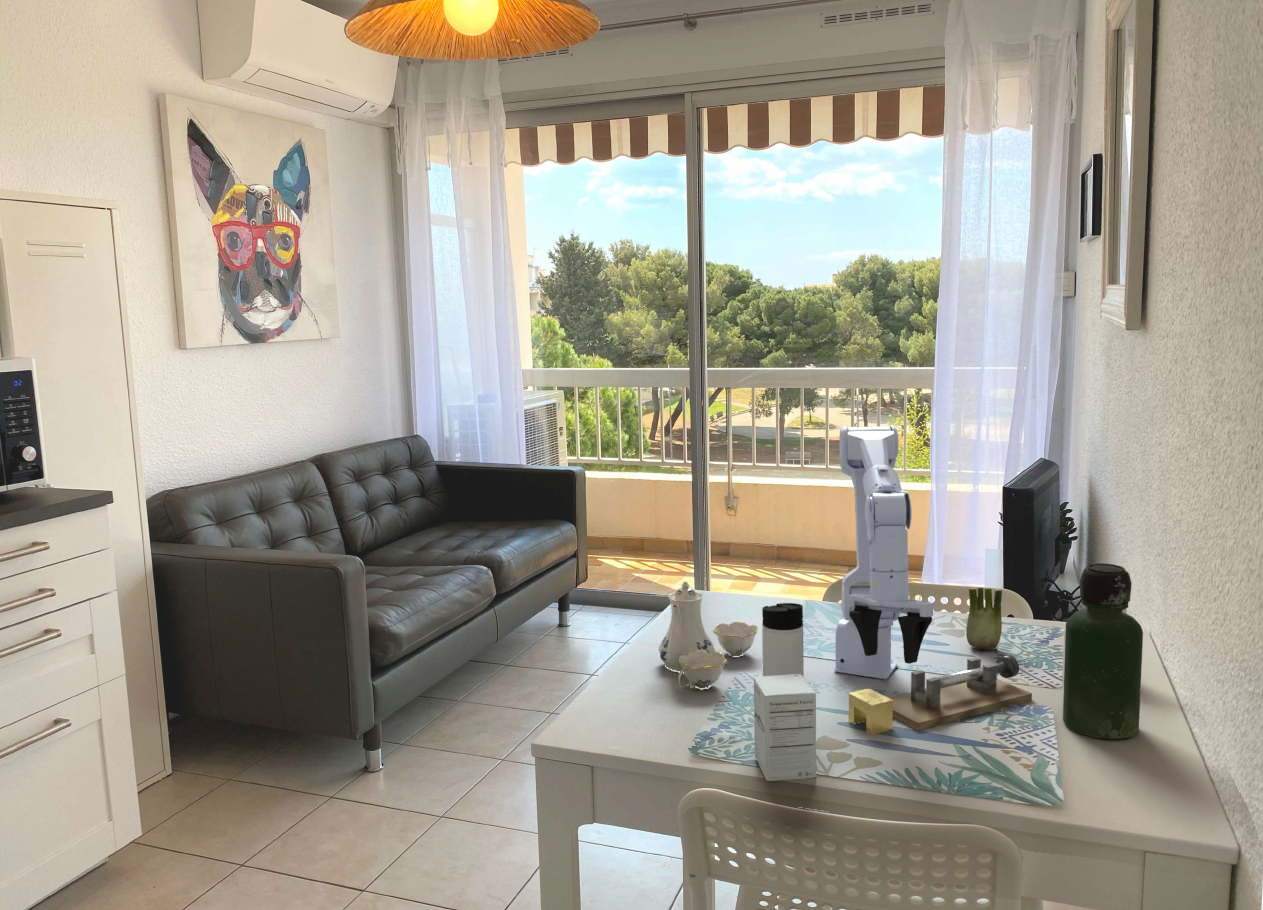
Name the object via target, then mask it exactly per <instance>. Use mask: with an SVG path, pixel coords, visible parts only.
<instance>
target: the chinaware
mask: <svg viewBox="0 0 1263 910" xmlns="http://www.w3.org/2000/svg"><path fill="white" fill-rule="evenodd" d="M680 586H681V587H679V588H678V589H677V590H676V591H675V592H672V593H670V594H668V595H667V598H668V599H669V603H670V609H671V616H670V617H671V619H670V622H669V623H670V624H669V626H668V630H667V632H666V633H665V635H664V637H663V639H662V640H661V643H660V644H659V647H658V652H659V655H660V656H659V657H660V660H661V661H662V662H663V663H664V665H665V664H666V667H668V668H669V669H672V670H676V671H680V673H678V677H677V679H678V685H679V686H680V687H682V688H686V687H688V686H689V689H692V690H693V689H695V688H694V687H695V685H696V686H697V687H699V688H705V687H707V688H708V686H709V685H713V684H714V683H716V682H717V681H718V680H719V679H720V677H721V675H722V674H723V673H722V672H723V669H724V666H725V665H727V664H728V658H725V655H724V654H723V653H722V652H721V651H716V649H715V646H714V644H713V642H712V640H711V638H710V637H709V635H708V634H707V632H706V630H705V628H704V624H703V620H702V611H701V609H702V601H703V598H704V595H703V593H701V592H698V591H695V590H694V589H693V588H692V587H690V586H691V585H690V584H689V583H688V582H687V581H683V582H682V584H681V585H680ZM712 632H713V634H714V635H716V637H717V641H718V644H719V645H720V647H721V648H722V649H723V650H724V651H725V652H727V653H730V655H731V656H740V655H742V653H743V654H745V653H746V652H747V651H748V650H750V648H752V645H753V644H754V641H755V639H756V638H755V637H756V635H757V633H758V632H759V627H758V625H756V624H751V625H749V624H748V623H746V622H744V621H734V622H731V623H729V624H727V623H724V622H723V623H718V624H717V625H715V627H714V629H713V630H712ZM683 672H684V674H682V673H683ZM682 675H684V677H685V678H686V679H687V681H688V682H687V683H686V684H682V682H681V679H682Z"/></svg>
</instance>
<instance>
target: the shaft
mask: <svg viewBox="0 0 1263 910" xmlns="http://www.w3.org/2000/svg"><path fill="white" fill-rule="evenodd" d="M994 664H995V665H997V676H999V675H1000V676H1001V677H1002V678H1003V679H1010V678H1014V677H1016V676H1018V674H1019V672H1020V666H1019V665H1020V664H1019V663H1018V660H1017V659H1016V658H1015V657H1014V656H1013V655H1010V654H1007V655H1002V656H998V657H997V659H996V661H995V663H994ZM937 678H940V679H941V688H946V687H950V686H954V685H958V684H962V683H966V682H970V681H974V680H978V679H982V678H983V666H981V667H980V668H975V669H971V670H967V669H966V670H963V671H959V672H956V673H951V674H947V675H943V676H939V677H937Z"/></svg>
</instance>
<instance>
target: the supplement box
mask: <svg viewBox="0 0 1263 910" xmlns="http://www.w3.org/2000/svg"><path fill="white" fill-rule="evenodd" d="M753 704H754V705H753V707H754V708H753V709H754V710H753V715H754V716H753V717H754V718H753V721H754V729H753V730H754V759H755V758H756V759H757V760H756V759H755V760H756V762H757V761H758V762H757V764H758V763H759V764H758V766H759V768H760V770H761V772H762V774H763V776H764V778H765V781H767V782H776V781H777V782H778V781H779V782H780V781H789V780H791V781H793V780H805V779H806V780H807V778H808V779H815V778H814V777H817V695H816V692H815V690H814V689H813V688H812V686H811V685H810V683H809V682H808V681H807V680H806V678H805V677H803V676H802V674H788V675H774V676H763V675H762V676H754V677H753Z"/></svg>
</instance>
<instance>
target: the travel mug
mask: <svg viewBox="0 0 1263 910" xmlns="http://www.w3.org/2000/svg"><path fill="white" fill-rule="evenodd" d="M761 609H762V612H761V613H762V617H761V618H762V623H761V626H762V627H761V631H762V633H761V635H762V637H761V638H762V642H761V643H762V645H761V647H762V676H774V675H788V674H802V676H803V677H804V676H805V675H804V674H805V673H804V665H805V664H804V612H803V611H804V607H803V605H802V604H800V603H795V602H794V603H793V602H780V603H776V604H775V605H774V604H773V605H765V606H763V607H762V608H761ZM804 678H805V677H804Z"/></svg>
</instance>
